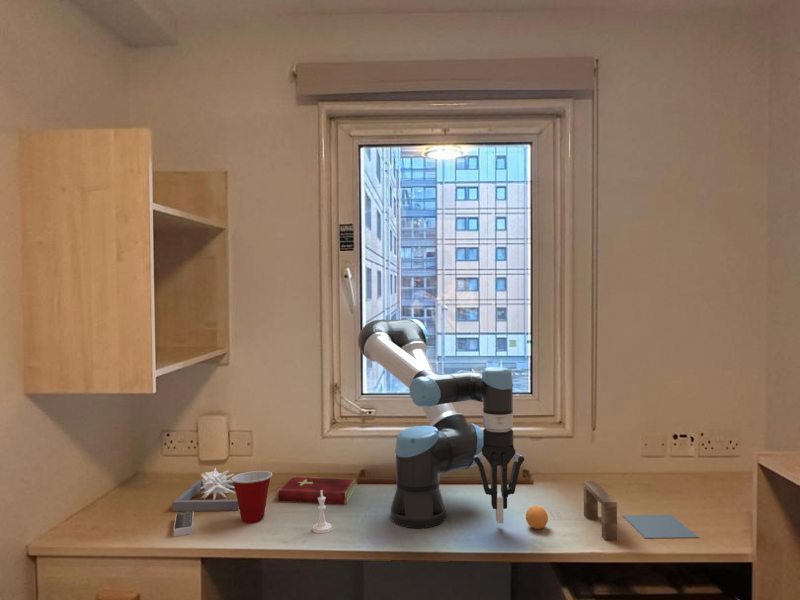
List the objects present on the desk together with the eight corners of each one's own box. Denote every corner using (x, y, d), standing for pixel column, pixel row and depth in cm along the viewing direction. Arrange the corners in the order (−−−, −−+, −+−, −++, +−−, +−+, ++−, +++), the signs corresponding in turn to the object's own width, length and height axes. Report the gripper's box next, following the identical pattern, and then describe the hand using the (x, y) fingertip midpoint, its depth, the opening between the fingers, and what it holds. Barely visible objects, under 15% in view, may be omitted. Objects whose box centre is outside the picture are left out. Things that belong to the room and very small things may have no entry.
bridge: (604, 540, 125) (604, 502, 125) (584, 515, 140) (583, 481, 140) (617, 540, 125) (616, 502, 125) (595, 515, 140) (594, 481, 140)
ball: (528, 533, 130) (528, 510, 130) (523, 523, 136) (523, 502, 136) (550, 532, 130) (550, 510, 130) (544, 523, 136) (544, 502, 136)
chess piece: (313, 534, 131) (313, 494, 131) (311, 526, 136) (310, 488, 136) (333, 531, 132) (332, 492, 132) (330, 523, 137) (329, 486, 137)
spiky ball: (237, 491, 165) (237, 464, 166) (241, 500, 154) (241, 471, 155) (199, 496, 161) (199, 468, 161) (200, 506, 149) (200, 476, 150)
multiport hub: (173, 538, 131) (173, 529, 131) (176, 521, 141) (176, 512, 141) (192, 535, 133) (192, 526, 133) (193, 518, 143) (193, 510, 143)
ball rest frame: (172, 511, 147) (172, 502, 147) (198, 487, 166) (198, 479, 166) (238, 510, 147) (238, 501, 147) (256, 486, 166) (256, 478, 166)
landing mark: (645, 538, 126) (645, 537, 126) (622, 516, 139) (622, 515, 139) (698, 537, 126) (698, 536, 126) (671, 515, 139) (671, 514, 139)
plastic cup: (270, 508, 148) (269, 466, 148) (275, 523, 138) (275, 477, 138) (230, 514, 144) (229, 471, 144) (232, 530, 134) (232, 483, 134)
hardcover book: (346, 506, 150) (346, 492, 150) (277, 503, 153) (276, 489, 153) (356, 491, 162) (356, 477, 162) (292, 488, 165) (291, 475, 165)
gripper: (474, 432, 129) (476, 527, 129) (527, 431, 129) (528, 527, 129) (470, 425, 137) (472, 515, 137) (520, 424, 137) (521, 514, 137)
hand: (499, 520), depth 133 cm, fingers closed
